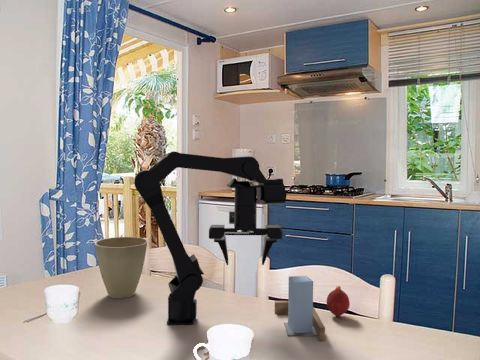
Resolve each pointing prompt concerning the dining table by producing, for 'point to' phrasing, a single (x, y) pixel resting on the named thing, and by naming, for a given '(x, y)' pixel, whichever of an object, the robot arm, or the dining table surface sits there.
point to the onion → (338, 302)
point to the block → (300, 304)
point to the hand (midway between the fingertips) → (245, 264)
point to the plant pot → (121, 264)
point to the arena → (317, 330)
